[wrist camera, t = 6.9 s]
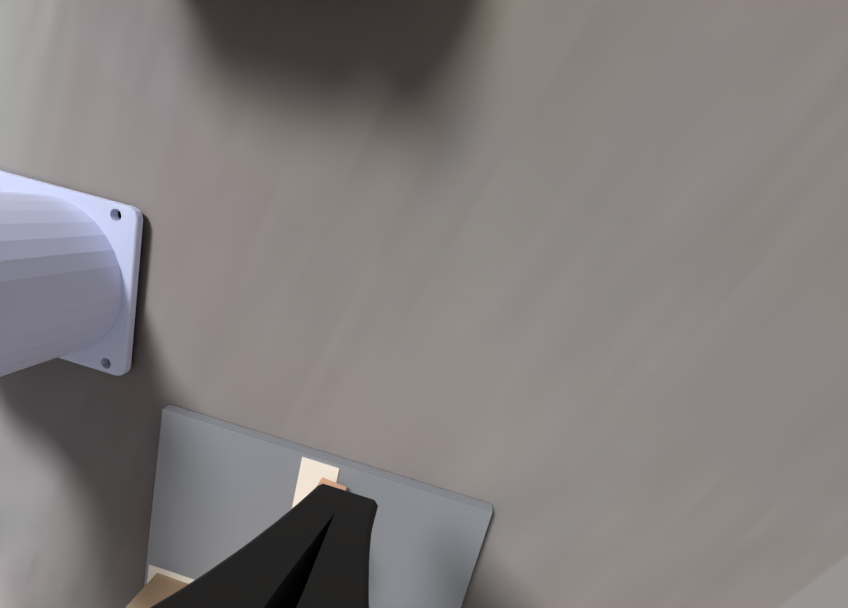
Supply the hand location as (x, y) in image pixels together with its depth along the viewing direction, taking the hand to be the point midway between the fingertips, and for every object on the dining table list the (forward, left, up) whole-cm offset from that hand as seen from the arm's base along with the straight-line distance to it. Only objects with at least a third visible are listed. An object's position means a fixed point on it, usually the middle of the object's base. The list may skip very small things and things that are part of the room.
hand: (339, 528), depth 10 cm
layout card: (-3, -12, -9) cm, 16 cm away
